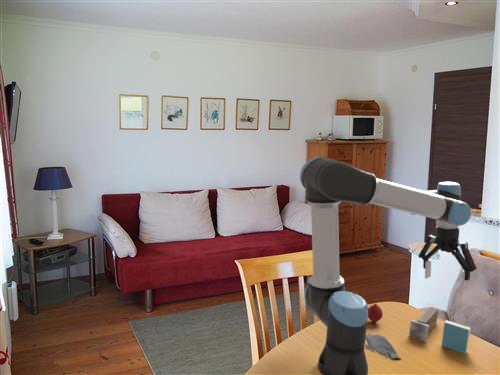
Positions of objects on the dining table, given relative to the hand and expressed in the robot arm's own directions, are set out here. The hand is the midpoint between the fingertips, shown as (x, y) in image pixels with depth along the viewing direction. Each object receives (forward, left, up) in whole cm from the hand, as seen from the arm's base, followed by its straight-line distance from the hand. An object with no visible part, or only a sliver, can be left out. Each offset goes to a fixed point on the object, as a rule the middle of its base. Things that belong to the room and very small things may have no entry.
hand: (445, 282), depth 161 cm
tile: (+7, -7, -20) cm, 23 cm away
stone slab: (-14, -24, -21) cm, 35 cm away
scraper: (-5, 0, -20) cm, 21 cm away
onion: (-22, -8, -21) cm, 31 cm away
